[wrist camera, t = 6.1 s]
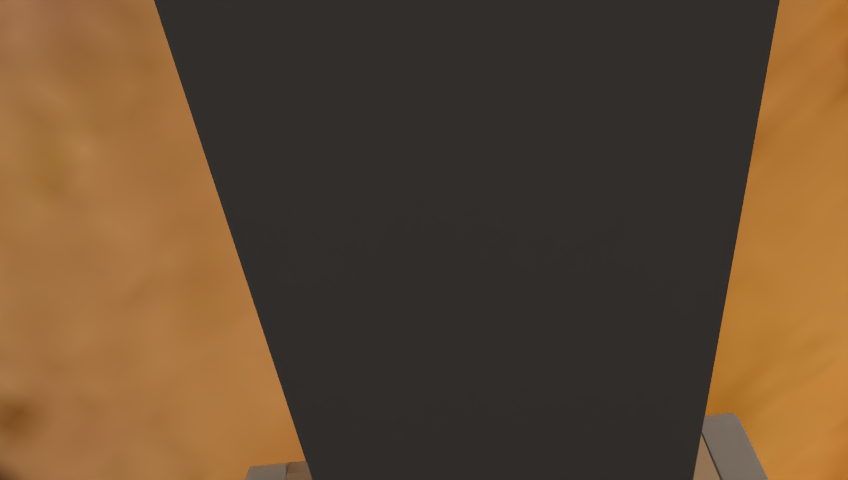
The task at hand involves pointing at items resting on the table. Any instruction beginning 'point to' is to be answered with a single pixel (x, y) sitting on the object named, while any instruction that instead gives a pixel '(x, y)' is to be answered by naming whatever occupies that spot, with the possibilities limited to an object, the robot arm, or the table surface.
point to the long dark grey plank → (483, 220)
